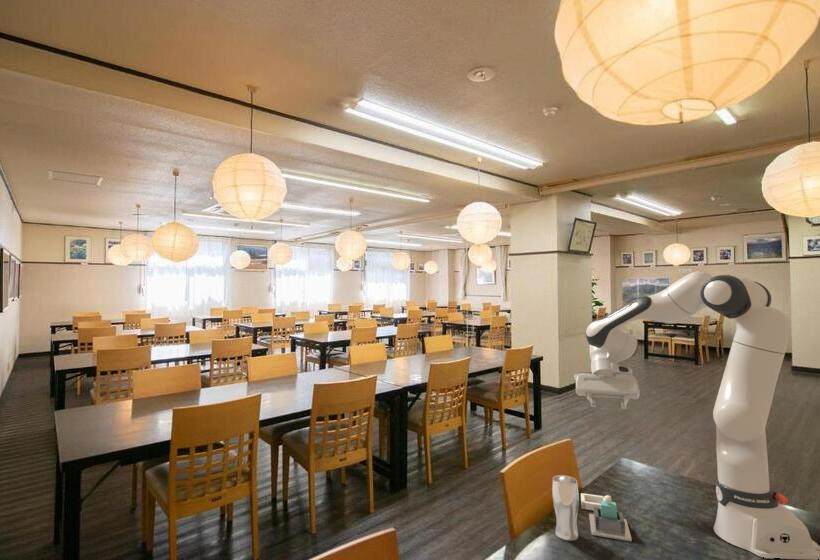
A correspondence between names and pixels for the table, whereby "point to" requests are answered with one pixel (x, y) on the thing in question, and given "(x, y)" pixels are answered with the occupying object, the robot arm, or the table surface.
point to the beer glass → (566, 506)
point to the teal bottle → (608, 508)
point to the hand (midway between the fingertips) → (608, 407)
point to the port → (609, 526)
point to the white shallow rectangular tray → (591, 501)
